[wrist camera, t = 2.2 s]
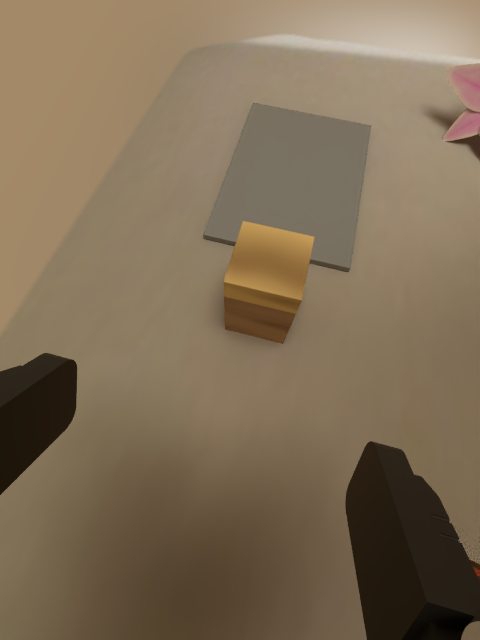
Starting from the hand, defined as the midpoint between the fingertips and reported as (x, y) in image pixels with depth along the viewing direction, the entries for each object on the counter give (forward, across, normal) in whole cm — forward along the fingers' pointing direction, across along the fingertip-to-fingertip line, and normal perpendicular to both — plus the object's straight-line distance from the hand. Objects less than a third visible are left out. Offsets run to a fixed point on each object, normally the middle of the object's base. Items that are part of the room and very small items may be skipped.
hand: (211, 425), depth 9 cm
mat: (+31, 0, -8) cm, 32 cm away
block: (+20, 0, +3) cm, 20 cm away
